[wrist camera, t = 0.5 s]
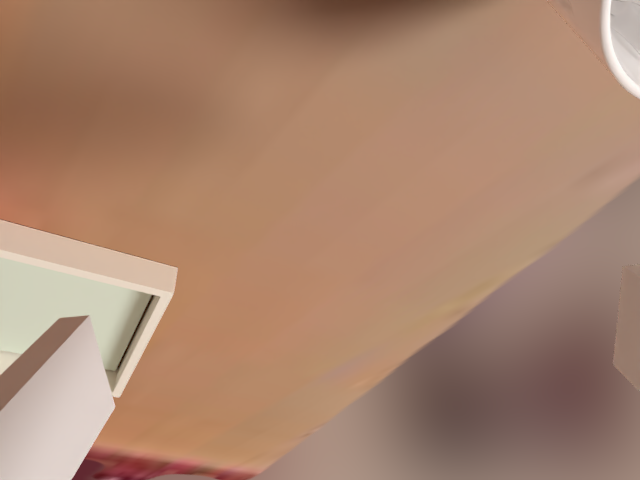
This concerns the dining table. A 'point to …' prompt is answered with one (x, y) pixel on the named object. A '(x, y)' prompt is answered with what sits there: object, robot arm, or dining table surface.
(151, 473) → the dining table surface
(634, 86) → the white cup
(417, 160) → the dining table surface
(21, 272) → the grey flat rectangular tray
